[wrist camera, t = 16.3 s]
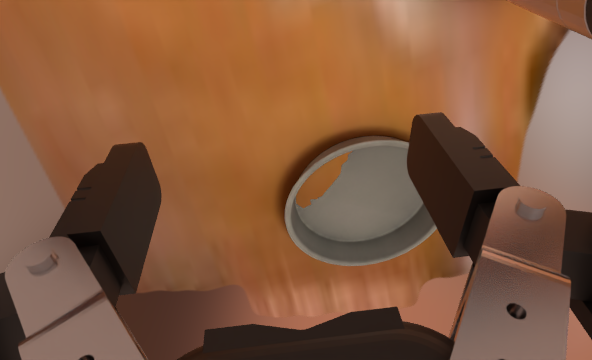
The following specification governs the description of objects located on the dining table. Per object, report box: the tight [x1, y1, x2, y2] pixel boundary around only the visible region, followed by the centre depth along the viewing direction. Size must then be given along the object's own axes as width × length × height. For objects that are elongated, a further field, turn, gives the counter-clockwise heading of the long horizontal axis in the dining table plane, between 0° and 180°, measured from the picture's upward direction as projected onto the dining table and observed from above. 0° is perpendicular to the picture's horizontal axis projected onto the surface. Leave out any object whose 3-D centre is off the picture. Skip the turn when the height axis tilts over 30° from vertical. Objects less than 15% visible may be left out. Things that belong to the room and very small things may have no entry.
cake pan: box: [285, 136, 437, 266], centre depth 56 cm, size 25×25×4 cm
